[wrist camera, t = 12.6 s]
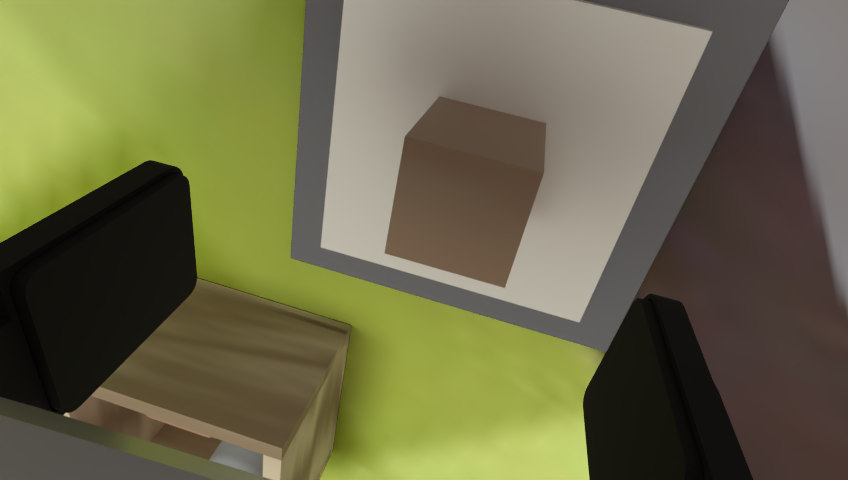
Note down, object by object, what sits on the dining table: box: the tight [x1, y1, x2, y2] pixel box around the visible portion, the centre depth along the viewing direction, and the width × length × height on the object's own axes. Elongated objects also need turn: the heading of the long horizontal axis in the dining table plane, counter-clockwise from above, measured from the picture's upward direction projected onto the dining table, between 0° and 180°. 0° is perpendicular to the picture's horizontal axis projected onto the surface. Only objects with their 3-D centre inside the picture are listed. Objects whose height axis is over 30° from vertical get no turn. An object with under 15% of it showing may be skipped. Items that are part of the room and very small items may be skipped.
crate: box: [63, 278, 351, 480], centre depth 27 cm, size 11×11×8 cm
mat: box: [291, 0, 789, 352], centre depth 20 cm, size 16×16×1 cm
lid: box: [321, 0, 712, 322], centre depth 17 cm, size 12×12×6 cm
